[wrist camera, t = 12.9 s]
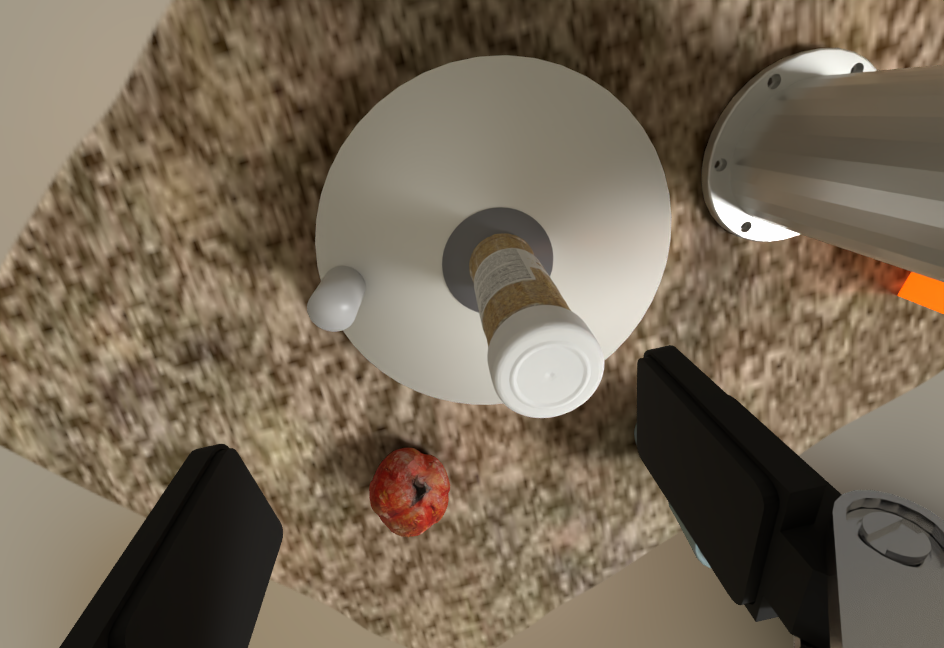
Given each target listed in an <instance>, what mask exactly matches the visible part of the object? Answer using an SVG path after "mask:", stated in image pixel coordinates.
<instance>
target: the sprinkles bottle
mask: <svg viewBox="0 0 944 648" xmlns="http://www.w3.org/2000/svg"><path fill="white" fill-rule="evenodd" d="M469 271H470V276H471V278H472V281H473V282H474V290H475V295H476V300H477V304H478V309H479V314H480V318H481V324H482V328H483V331H484V334H485V336H486V339H487V343H488V354H487V361H488V367H489V372H490V376H491V379H492V383H493V386H494V389H495V392H496V394H497V395H498V397H499V398H500V400H501V401H502V402H503V403H504V404H505V405H506V406H507V407H508V408H510V409H511V410H513V411H514V412H516V413H519V414H521V415H524V416H528V417H533V418H549V417H555V416H559V415H563V414H565V413H568V412H570V411H572V410H574V409H576V408H577V407H579V406H580V405H582V404H583V403H584V402H586V401H587V400H588V399H589V398H590V397H591V396H592V394H593V393H594V392H595V390H596V389H597V387H598V385H599V383H600V381H601V379H602V375H603V371H604V356H603V352H602V349H601V347H600V345H599V343H598V341H597V339H596V338H595V336H594V335H593V333H592V332H591V330H590V329H589V328H588V326H587V325H586V323H585V322H584V321H583V320H582V319H581V318H580V317H579V316H578V315H577V314H575V313H574V312H572V311H571V310H570V308H569V307H568V305H567V303H566V301H565V300H564V299H563V297H562V296H561V294H560V292H559V290H558V288H557V286H556V285H555V284H554V282H553V281H552V279H551V278H550V276H549V275H548V273H547V272H546V270H545V269H544V267H543V266H542V264H541V263H540V261H539V260H538V259H537V258H536V257H535V256H534V253H533V251H532V249H531V247H530V246H529V245H528V244H527V242H526V241H525V240H523V239H522V238H520V237H518V236H516V235H512V234H506V233H505V234H503V233H501V234H494V235H492V236H490V237H487V238H486V239H484V240H483V241H481V242H480V243H479V244H478V245H477V246H476V248H475V249H474V250H473V253H472V255H471V258H470V262H469Z"/></svg>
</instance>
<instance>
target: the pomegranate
mask: <svg viewBox="0 0 944 648" xmlns="http://www.w3.org/2000/svg"><path fill="white" fill-rule="evenodd" d="M369 491H370V503H371V507H372V509H373V511H374V512H375V513H376V514H377V515H378V516H379V517H380V519H381V520H382V522H383V523H384V524H385V525H386V526H387V527H388V528H389V529H390V530H391V532H393V533H395V534H397V535H399V536H404V537H411V536H418V535H420V534H422V533H423V532H424V531H426V530H427V529H428V528H430V527H431V526H432V525H433V524H435V523H437V522H438V521H439V520H440V519H441V518H442V516H443V515H444V513H445V511H446V508H447V505H448V492H449V491H450V483H449V479H448V476H447V473H446V470H445V468H444V467H443V465H442V464H441V462H440V461H439V460H438V459H437V458H436V457H434V456H432V455H425V454H422V453H420V452H419V451H418V450H416V449H414V448H401V449H397V450H395V451H393V452H391V453H390V454H389V455H387V457H386V458H385V459H384V460H383V461H382V462H381V464H380V465H379V467H378V468H377V471H376V473H375V475H374V477H373V480H372V481H371V483H370V487H369Z"/></svg>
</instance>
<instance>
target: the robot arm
mask: <svg viewBox="0 0 944 648" xmlns="http://www.w3.org/2000/svg"><path fill="white" fill-rule="evenodd" d="M715 163H716V164H715ZM702 190H703V195H704V200H705V203H706V205H707V207H708V210H709V212H710V214H711V215H712V217H713V218H714V219H715V220H716V222H717V223H718V224H719V225H720V226H722V227H723V228H724V229H726V230H727V231H728V232H730V233H732V234H735V235H737V236H739V237H741V238H745V239H748V240H752V241H760V242H772V241H779V240H785V239H788V238H791V237H794V236H797V235H800V234H802V235H805V236H808V237H810V238H813V239H816V240H819V241H822V242H825V243H828V244H831V245H834V246H837V247H840V248H843V249H846V250H849V251H852V252H855V253H858V254H861V255H864V256H867V257H870V258H873V259H876V260H879V261H882V262H885V263H888V264H891V265H894V266H897V267H900V268H903V269H906V270H909V271H911V272H914V273H917V274H920V275H923V276H926V277H929V278H932V279H935V280H938V281H941V282H944V65H936V66H925V67H914V68H903V69H892V70H881V71H878V70H877V69H876V68H875V67H874V66H873V65H872V64H871V63H870V61H869V60H868V59H866V58H864V57H863V56H861V55H859V54H857V53H856V52H853V51H849V50H845V49H841V48H819V49H814V50H808V51H802V52H799V53H796V54H793V55H790V56H788V57H785V58H782V59H781V60H779V61H777V62H775V63H773V64H772V65H770V66H768V67H766V68H765V69H763V70H762V71H761V72H760V73H758V74H757V75H756V76H755V77H753V78H752V79H751V80H750V81H748V82H747V83H746V84H745V85H744V87H743V88H742V89H741V90H740V91H739V92H738V93H737V94H736V95H735V96H734V97H733V98H732V100H731V101H730V103H729V104H728V105H727V107H726V108H725V110H724V111H723V112H722V114H721V115H720V117H719V119H718V121H717V123H716V125H715V127H714V129H713V131H712V133H711V135H710V138H709V141H708V144H707V147H706V150H705V154H704V159H703V165H702ZM637 449H638V453H639V455H640V458H641V459H642V461H643V463H644V464H645V466H646V467H647V469H648V470H649V472H650V474H651V475H652V477H653V478H654V480H655V481H656V483H657V484H658V486H659V488H660V489H661V491H662V492H663V494H664V495H665V497H666V498H667V500H668V501H669V503H670V505H671V506H672V508H673V509H674V511H675V512H676V514H677V515H678V517H679V519H680V520H681V522H682V523H683V525H684V526H685V528H686V529H687V531H688V532H689V534H690V536H691V537H692V539H693V540H694V542H695V543H696V545H697V546H698V548H699V550H700V551H701V553H702V554H703V556H704V557H705V559H706V560H707V562H708V564H709V565H710V567H711V568H712V569H713V571H714V573H715V574H716V576H717V577H718V579H719V580H720V582H721V584H722V585H723V587H724V588H725V590H726V591H727V593H728V594H729V596H730V597H731V599H732V600H733V601H734V602H735V603H736V604H738V605H743V604H744V605H745V606H746V608H747V609H748V611H749V612H750V614H751V615H752V617H753V618H754V620H755V621H756V622H758V621H762V620H766V619H771V618H775V617H779V618H780V620H781V621H782V622H783V624H784V625H785V627H786V628H787V629H788V631H789V632H790V633H791V634H792V635H794V648H944V520H942V519H941V518H940V517H938V516H937V515H935V514H934V513H932V512H931V511H930V510H928V509H926V508H924V507H922V506H920V505H918V504H916V503H914V502H912V501H910V500H907V499H904V498H901V497H899V496H895V495H893V494H890V493H884V492H879V491H873V490H854V491H851V492H848V493H845V494H842V495H841V494H840V493H839V492H838V491H837V490H836V489H835V488H833V486H831V485H830V484H829V483H828V482H827V481H826V480H824V478H823V477H821V476H820V475H819V474H818V473H817V472H816V471H815V470H814V469H812V468H811V467H810V466H809V465H808V464H807V463H806V462H805V461H804V460H802V459H801V458H800V457H799V456H798V455H797V454H796V453H795V452H794V451H793V450H791V449H790V448H789V447H788V446H787V445H786V444H785V443H784V442H783V441H781V440H780V439H779V438H778V437H777V436H776V435H775V434H774V433H773V432H771V431H770V430H769V429H768V428H767V427H766V426H765V425H764V424H763V423H761V422H760V421H759V420H758V419H757V418H756V417H755V416H754V415H753V414H751V413H750V412H749V411H748V410H747V409H746V408H745V407H744V406H743V405H741V404H740V403H739V402H738V401H737V400H736V399H734V398H733V397H731V396H730V395H727V394H726V393H725V392H724V391H723V390H722V389H721V388H720V387H719V386H717V385H716V384H715V383H714V382H713V381H712V380H711V379H710V378H709V377H708V376H706V375H705V374H704V373H703V372H702V371H701V370H700V369H699V368H698V367H697V366H695V365H694V364H693V363H692V362H691V361H690V360H689V359H688V358H687V357H686V356H684V355H683V354H682V353H681V352H680V351H679V350H678V349H677V348H675V347H674V346H671V345H669V346H665V347H660V348H656V349H651V350H647V351H646V352H645V353H644V358H640V359H639V360H638V363H637ZM282 538H283V529H282V525H281V523H280V521H279V519H278V518H277V516H276V514H275V513H274V511H273V510H272V508H271V506H270V505H269V503H268V501H267V500H266V498H265V496H264V495H263V493H262V492H261V490H260V488H259V487H258V485H257V483H256V482H255V480H254V479H253V477H252V475H251V474H250V472H249V470H248V469H247V467H246V465H245V464H244V462H243V461H242V459H241V457H240V456H239V454H238V452H237V451H236V450H235V449H233V448H229V447H228V446H226V445H225V444H217V445H213V446H208V447H204V448H199V449H196V450H194V451H192V452H191V453H190V454H189V456H188V457H187V459H186V460H185V462H184V463H183V465H182V466H181V468H180V469H179V471H178V472H177V474H176V475H175V477H174V478H173V480H172V481H171V483H170V484H169V485H168V487H167V488H166V490H165V491H164V493H163V494H162V496H161V497H160V499H159V500H158V502H157V503H156V505H155V506H154V508H153V509H152V511H151V512H150V514H149V515H148V517H147V518H146V520H145V521H144V523H143V524H142V526H141V527H140V529H139V530H138V532H137V533H136V535H135V536H134V538H133V539H132V540H131V542H130V543H129V545H128V546H127V548H126V550H125V551H124V552H123V554H122V556H121V557H120V558H119V560H118V562H117V563H116V564H115V566H114V567H113V569H112V570H111V572H110V573H109V575H108V576H107V578H106V579H105V581H104V582H103V584H102V585H101V587H100V588H99V590H98V591H97V593H96V594H95V596H94V597H93V598H92V600H91V601H90V603H89V604H88V606H87V608H86V609H85V610H84V612H83V614H82V615H81V616H80V618H79V620H78V621H77V622H76V624H75V625H74V627H73V628H72V630H71V631H70V633H69V634H68V636H67V637H66V639H65V640H64V642H63V643H62V645H61V646H60V647H59V648H248V645H249V642H250V639H251V636H252V633H253V630H254V626H255V623H256V620H257V617H258V614H259V611H260V608H261V605H262V602H263V598H264V595H265V592H266V589H267V586H268V583H269V580H270V577H271V573H272V570H273V567H274V564H275V561H276V558H277V555H278V552H279V548H280V545H281V542H282Z"/></svg>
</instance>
